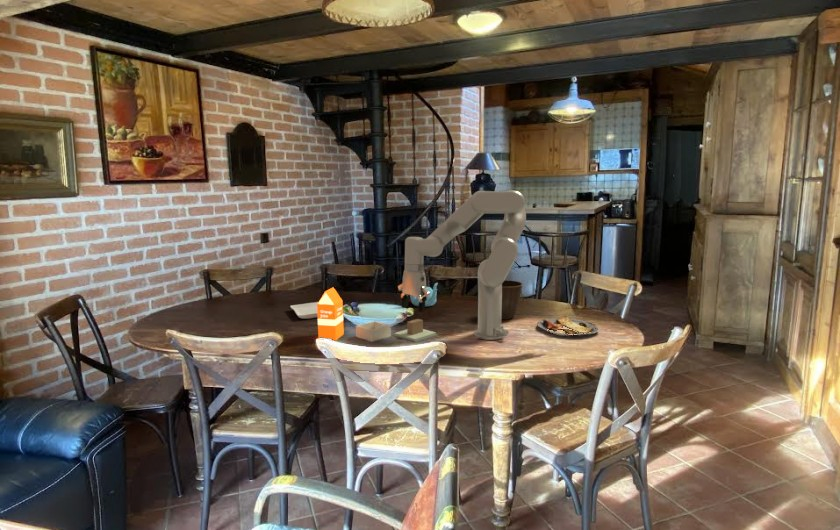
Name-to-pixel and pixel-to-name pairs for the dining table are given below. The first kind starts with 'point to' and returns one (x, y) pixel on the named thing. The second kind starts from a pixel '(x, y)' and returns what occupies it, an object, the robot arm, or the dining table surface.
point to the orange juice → (330, 315)
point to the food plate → (567, 325)
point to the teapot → (431, 298)
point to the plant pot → (510, 298)
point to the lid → (415, 331)
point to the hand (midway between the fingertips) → (413, 309)
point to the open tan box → (373, 331)
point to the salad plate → (306, 310)
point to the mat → (414, 341)
